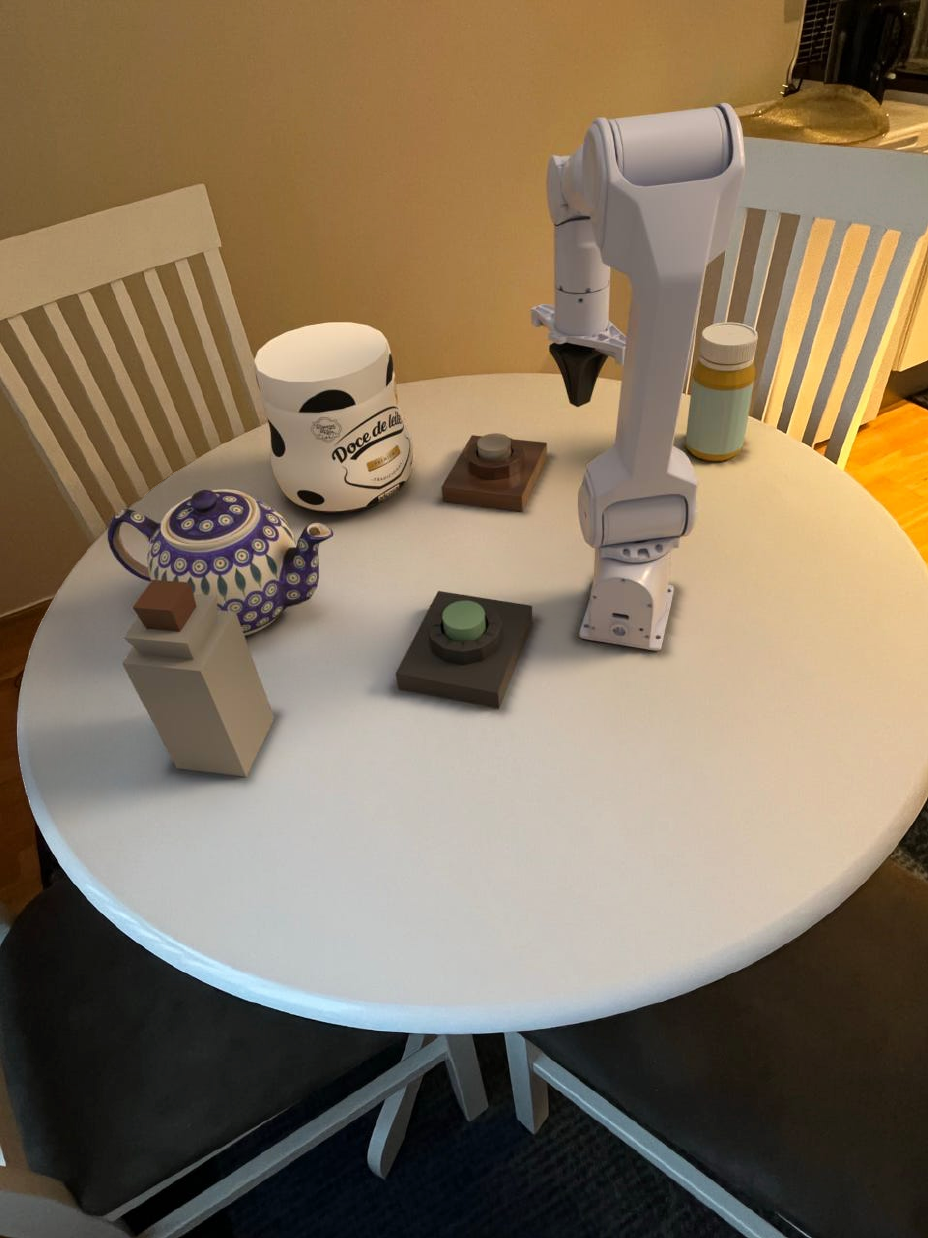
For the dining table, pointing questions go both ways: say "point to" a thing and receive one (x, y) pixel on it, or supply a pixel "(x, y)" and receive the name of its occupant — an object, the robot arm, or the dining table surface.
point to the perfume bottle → (197, 679)
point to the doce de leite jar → (334, 416)
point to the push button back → (495, 476)
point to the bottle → (721, 391)
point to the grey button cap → (494, 447)
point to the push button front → (466, 653)
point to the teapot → (228, 553)
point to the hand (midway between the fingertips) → (580, 402)
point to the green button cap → (464, 621)
